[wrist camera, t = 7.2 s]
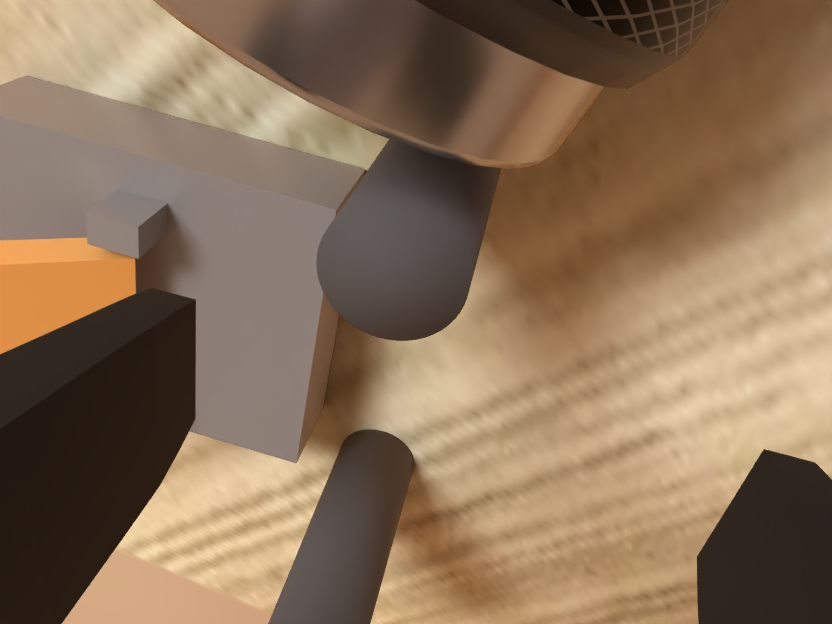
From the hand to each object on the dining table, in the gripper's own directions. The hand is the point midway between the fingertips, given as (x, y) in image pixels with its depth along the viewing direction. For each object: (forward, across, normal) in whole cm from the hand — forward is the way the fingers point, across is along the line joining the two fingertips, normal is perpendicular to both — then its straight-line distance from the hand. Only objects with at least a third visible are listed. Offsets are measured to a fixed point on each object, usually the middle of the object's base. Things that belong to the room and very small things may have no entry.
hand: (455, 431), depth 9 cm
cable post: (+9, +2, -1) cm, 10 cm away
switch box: (+9, +8, +5) cm, 13 cm away
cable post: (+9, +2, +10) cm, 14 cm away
